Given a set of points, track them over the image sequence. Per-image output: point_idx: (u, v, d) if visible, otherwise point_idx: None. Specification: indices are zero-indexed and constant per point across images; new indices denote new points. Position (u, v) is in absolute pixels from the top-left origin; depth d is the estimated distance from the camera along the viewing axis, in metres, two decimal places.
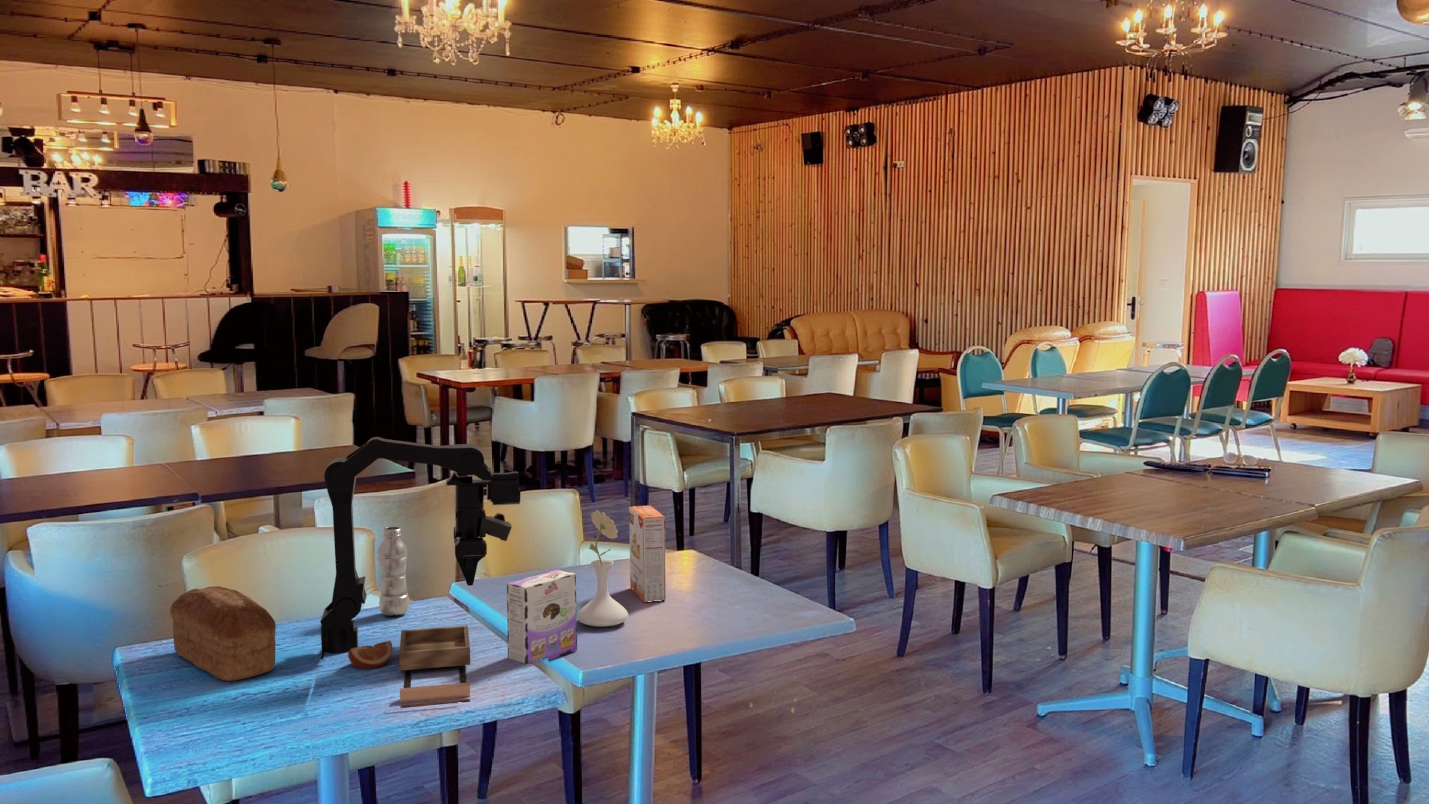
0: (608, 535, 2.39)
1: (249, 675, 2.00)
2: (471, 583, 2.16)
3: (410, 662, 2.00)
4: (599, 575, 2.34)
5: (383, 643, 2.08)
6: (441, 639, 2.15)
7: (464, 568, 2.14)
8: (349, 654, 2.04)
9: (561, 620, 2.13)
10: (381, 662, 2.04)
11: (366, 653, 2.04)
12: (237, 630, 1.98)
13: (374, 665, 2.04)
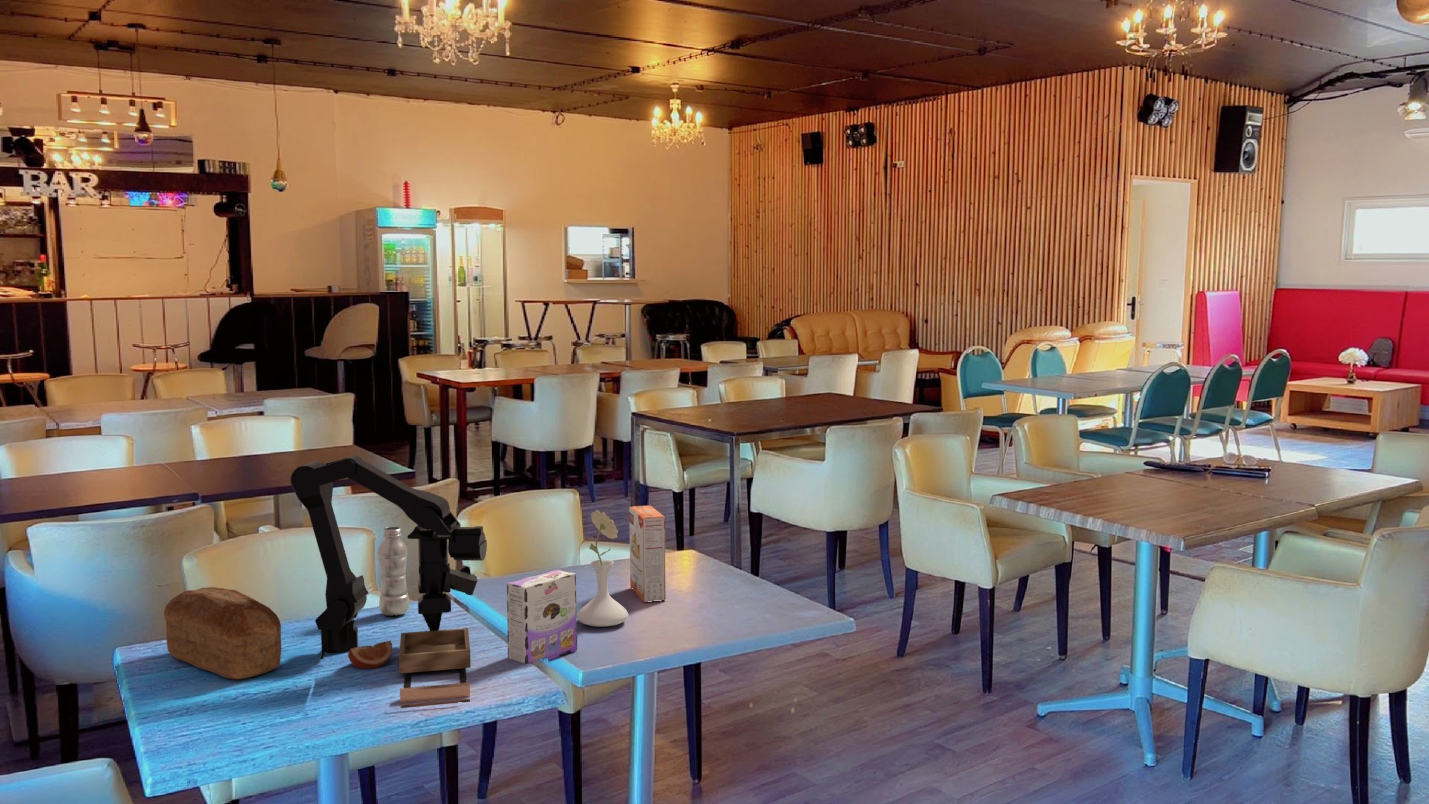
0: (608, 535, 2.39)
1: (257, 673, 2.01)
2: None
3: (410, 665, 1.99)
4: (599, 575, 2.34)
5: (383, 643, 2.08)
6: (441, 642, 2.13)
7: (428, 619, 2.12)
8: (349, 654, 2.04)
9: (561, 620, 2.13)
10: (381, 662, 2.04)
11: (366, 653, 2.04)
12: (246, 628, 1.99)
13: (374, 665, 2.04)
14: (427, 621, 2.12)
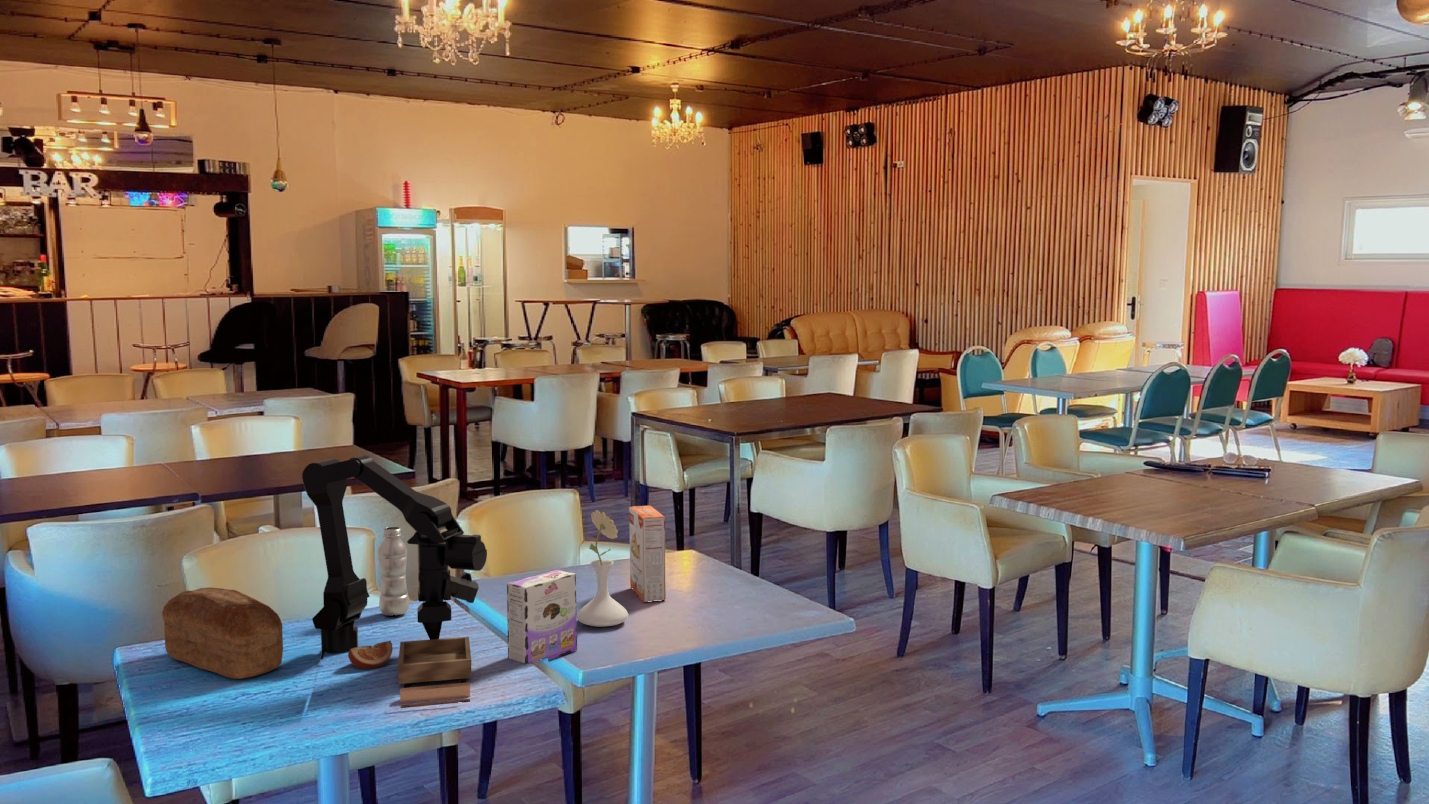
0: (608, 535, 2.39)
1: (260, 672, 2.02)
2: None
3: (409, 675, 1.93)
4: (599, 575, 2.34)
5: (383, 643, 2.08)
6: (441, 651, 2.08)
7: (428, 627, 2.07)
8: (349, 654, 2.04)
9: (561, 620, 2.13)
10: (381, 662, 2.04)
11: (366, 653, 2.04)
12: (249, 628, 1.99)
13: (374, 665, 2.04)
14: (427, 629, 2.07)
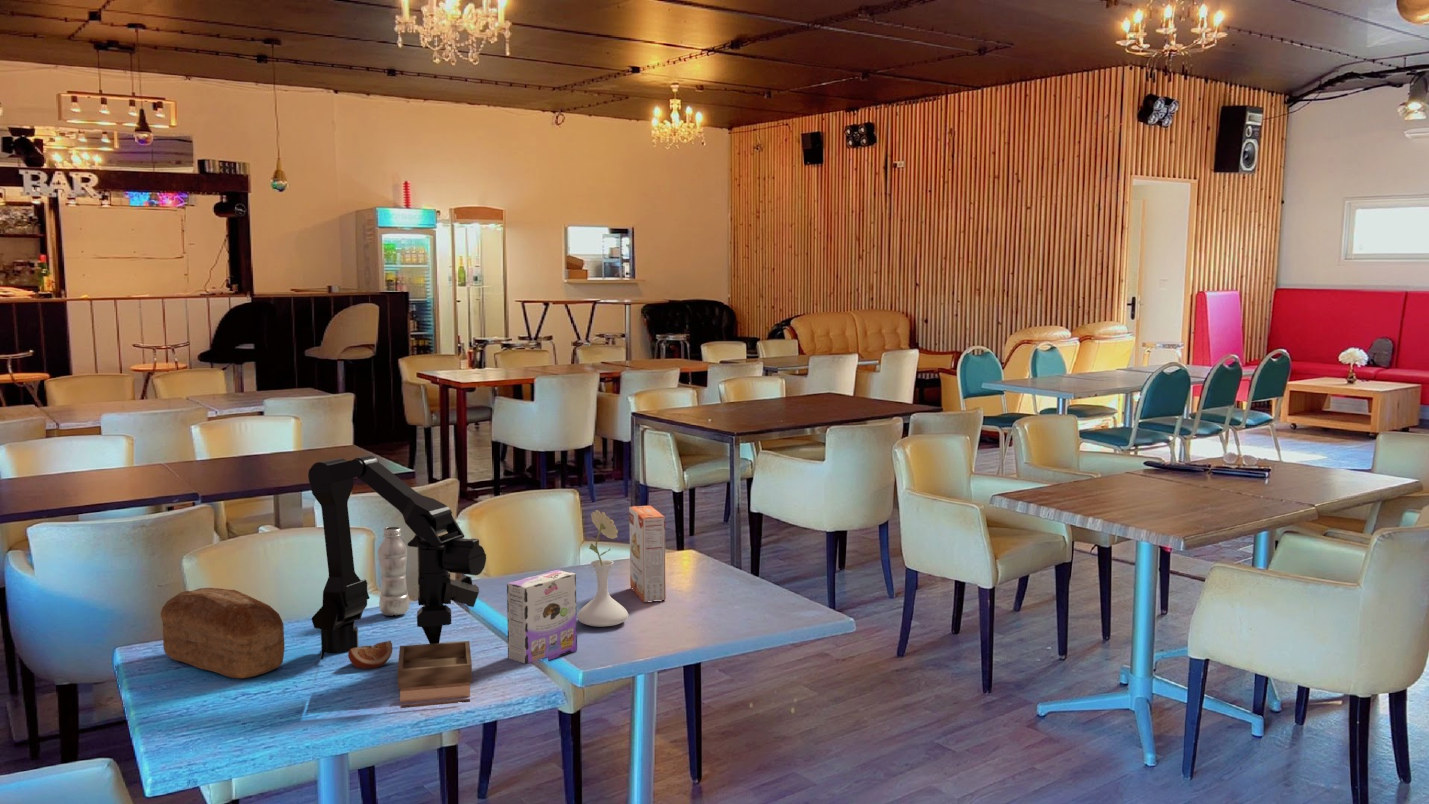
0: (608, 535, 2.39)
1: (262, 672, 2.02)
2: None
3: (409, 680, 1.91)
4: (599, 575, 2.34)
5: (383, 643, 2.08)
6: (441, 655, 2.05)
7: (428, 631, 2.04)
8: (349, 654, 2.04)
9: (561, 620, 2.13)
10: (381, 662, 2.04)
11: (366, 653, 2.04)
12: (251, 628, 1.99)
13: (374, 665, 2.04)
14: (427, 634, 2.04)
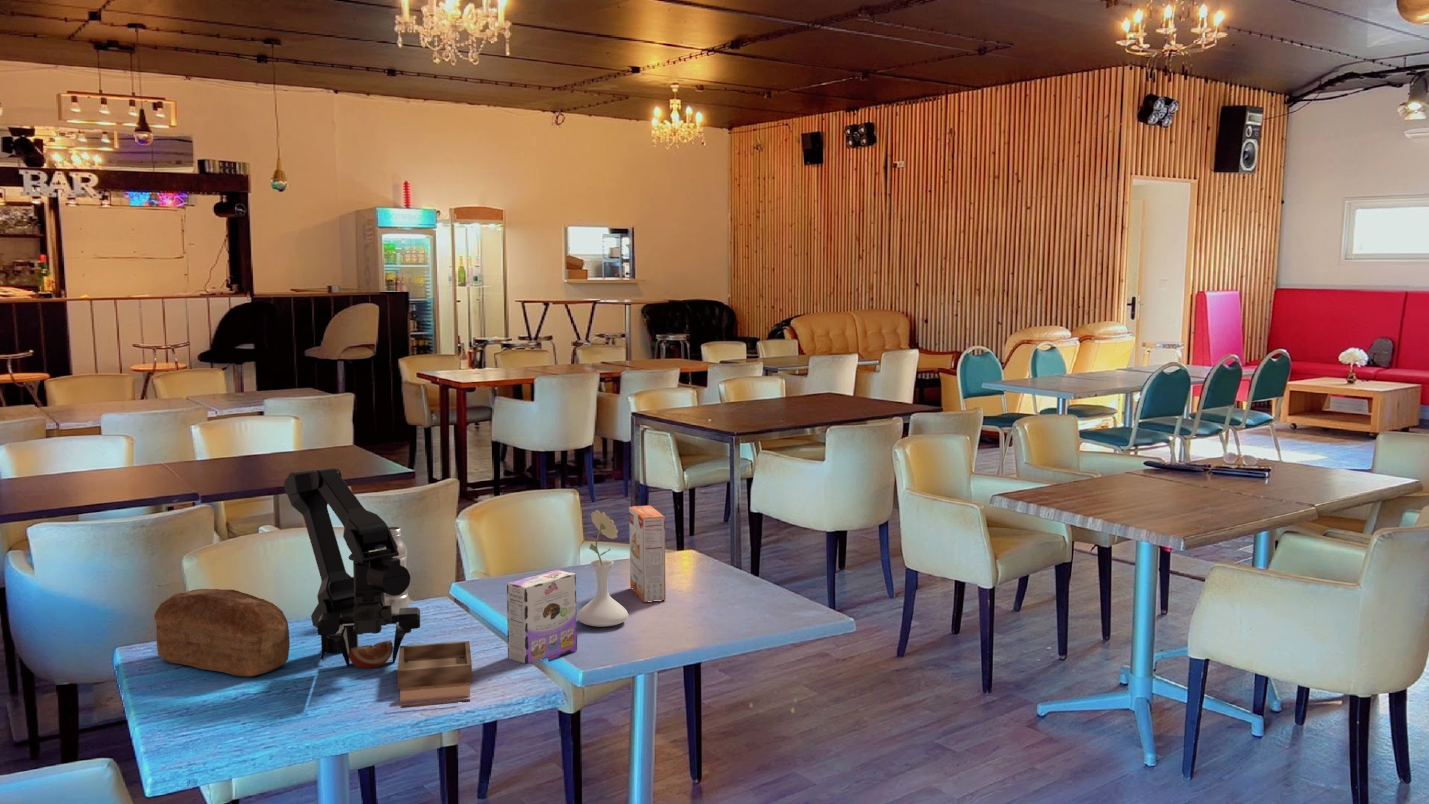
0: (608, 535, 2.39)
1: (270, 669, 2.04)
2: (346, 663, 2.05)
3: (409, 680, 1.91)
4: (599, 575, 2.34)
5: (383, 643, 2.08)
6: (441, 655, 2.05)
7: None
8: (349, 654, 2.04)
9: (561, 620, 2.13)
10: (382, 662, 2.04)
11: (367, 652, 2.04)
12: (261, 625, 2.01)
13: (374, 664, 2.04)
14: None
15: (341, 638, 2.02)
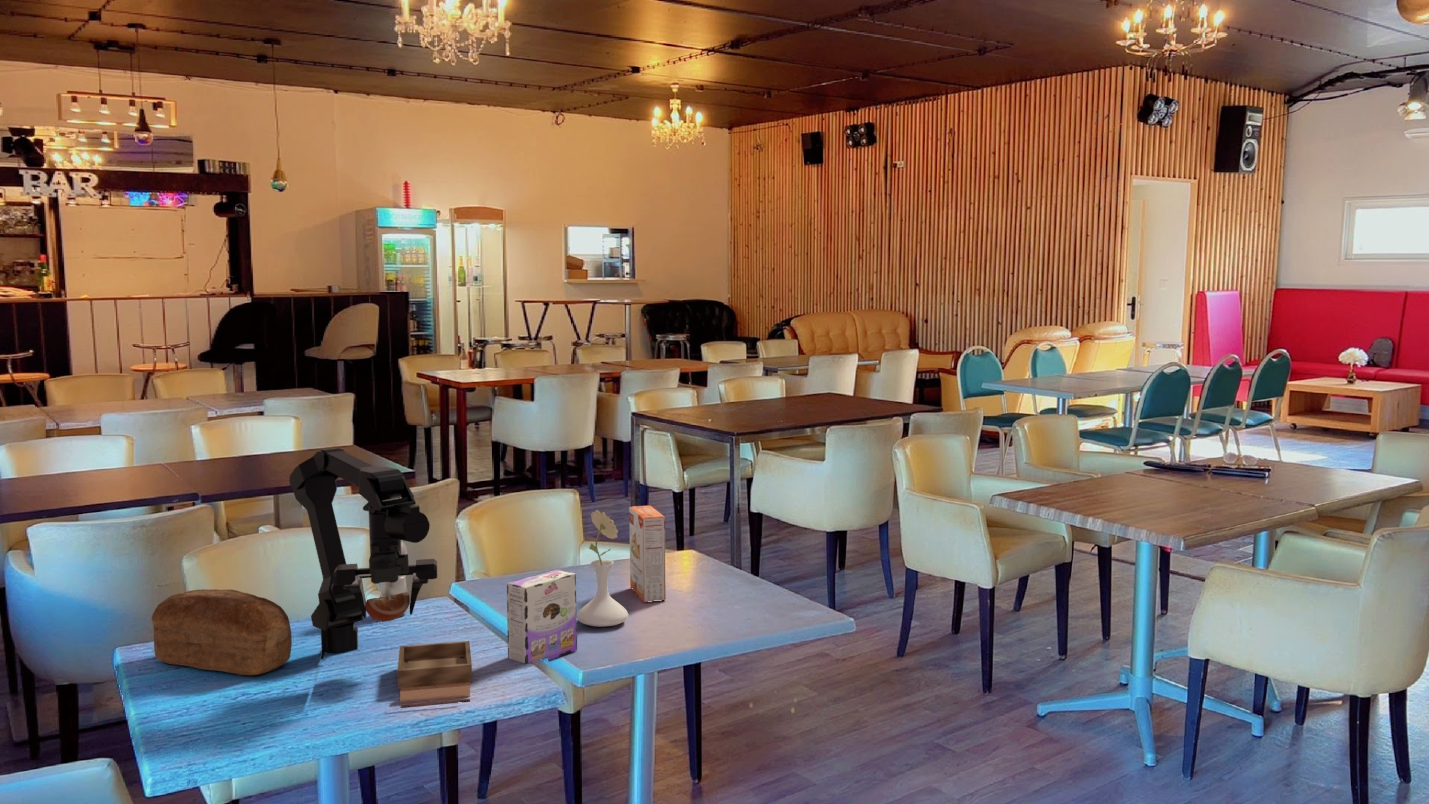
0: (608, 535, 2.39)
1: (273, 667, 2.04)
2: (363, 615, 2.02)
3: (409, 680, 1.91)
4: (599, 575, 2.34)
5: (400, 594, 2.04)
6: (441, 655, 2.05)
7: None
8: (366, 605, 2.00)
9: (561, 620, 2.13)
10: (399, 613, 2.01)
11: (383, 603, 2.01)
12: (265, 624, 2.01)
13: (391, 616, 2.00)
14: None
15: (357, 589, 1.99)
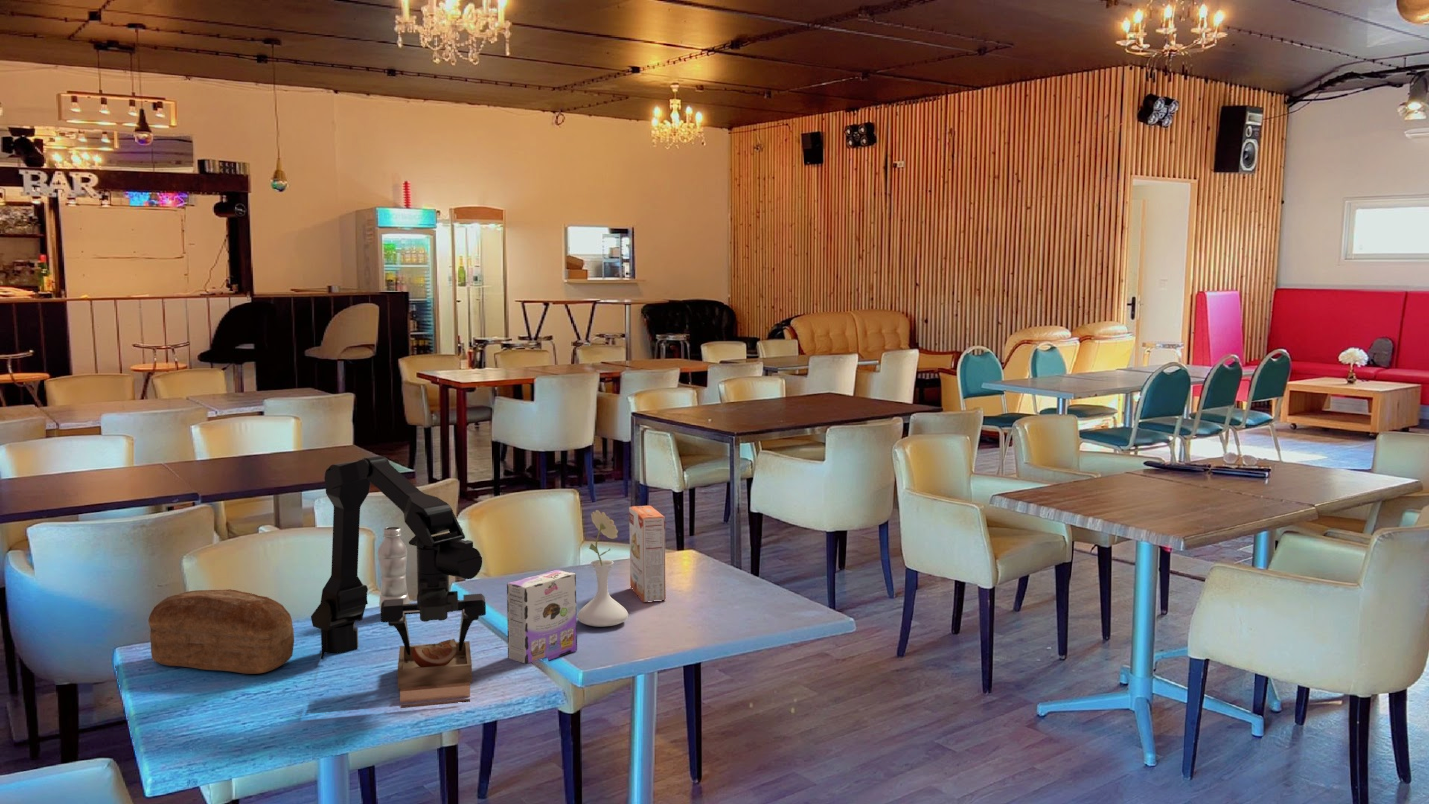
0: (608, 535, 2.39)
1: (278, 665, 2.05)
2: (407, 652, 1.96)
3: (409, 681, 1.91)
4: (599, 575, 2.34)
5: (447, 641, 2.00)
6: None
7: None
8: (413, 653, 1.96)
9: (561, 620, 2.13)
10: (446, 661, 1.96)
11: (430, 651, 1.96)
12: (271, 622, 2.03)
13: (439, 664, 1.95)
14: None
15: (402, 626, 1.94)
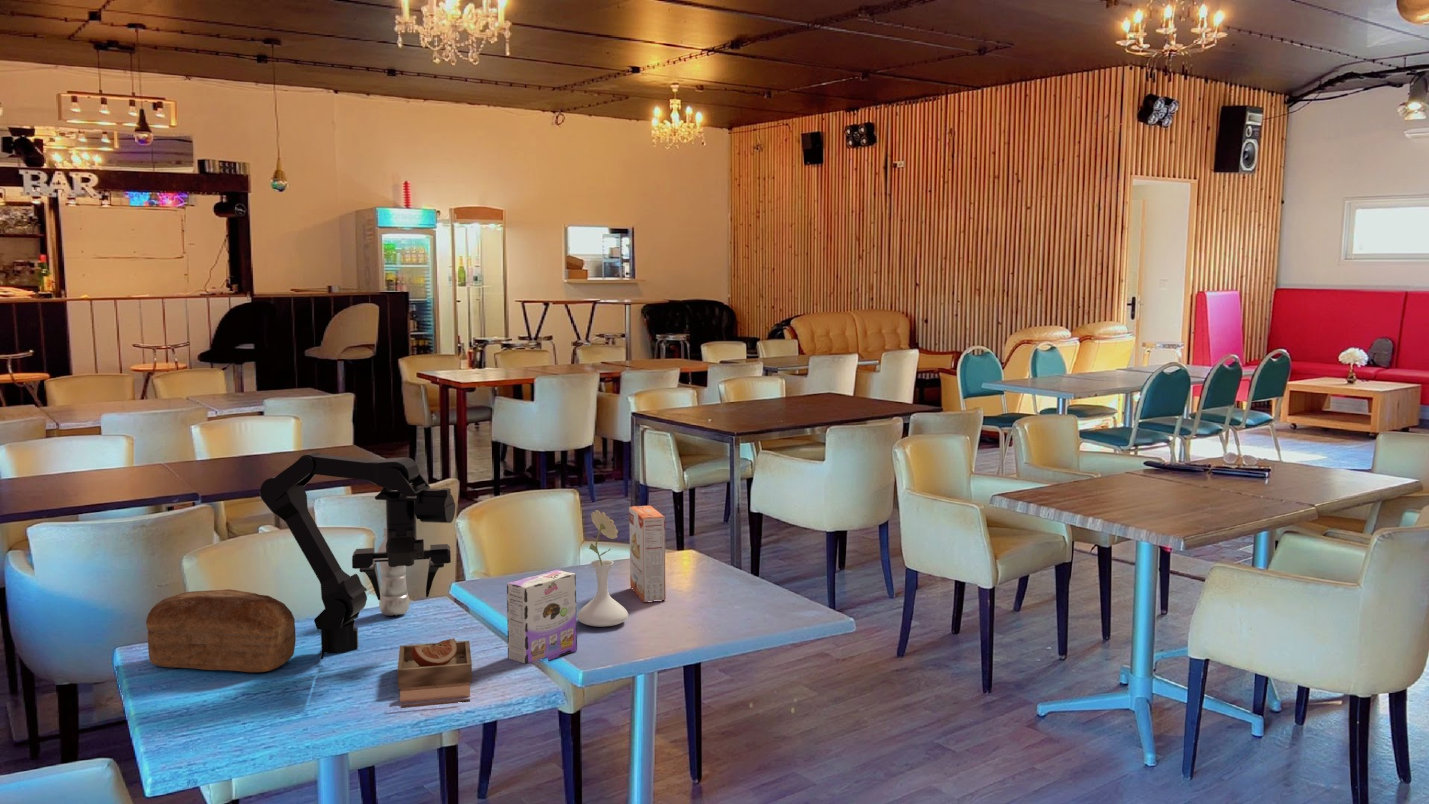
0: (608, 535, 2.39)
1: (282, 663, 2.07)
2: (377, 597, 2.11)
3: (409, 680, 1.91)
4: (599, 575, 2.34)
5: (447, 641, 2.00)
6: None
7: None
8: (413, 652, 1.96)
9: (561, 620, 2.13)
10: (446, 660, 1.96)
11: (430, 651, 1.96)
12: (276, 620, 2.04)
13: (439, 664, 1.96)
14: None
15: (373, 572, 2.08)
